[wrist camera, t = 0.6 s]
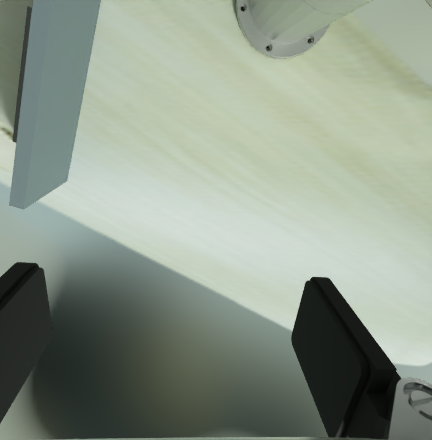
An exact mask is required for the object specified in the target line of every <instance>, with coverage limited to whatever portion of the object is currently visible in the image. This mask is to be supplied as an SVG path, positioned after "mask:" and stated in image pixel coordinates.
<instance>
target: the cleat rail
mask: <svg viewBox="0 0 432 440" xmlns="http://www.w3.org/2000/svg"><path fill="white" fill-rule="evenodd" d="M31 13H32V8H31V7H28V8H27V17H26V26H25V35H24V44H23V53H22V62H21V71H20V79H19V88H18V97H17V106H16V115H15V124H14V133H13V142H16V143H17V134H18V125H19V117H20V108H21V100H22V91H23V82H24V74H25V65H26V56H27V48H28V39H29V31H30V22H31Z"/></svg>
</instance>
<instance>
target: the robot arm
mask: <svg viewBox="0 0 432 440" xmlns="http://www.w3.org/2000/svg"><path fill="white" fill-rule="evenodd" d="M370 1H372V0H236V13H237V19H238V22H239V25H240V28H241V31H242V32H243V34H244V36H245V38H246V39H247V41H248V42H249V43H250V44H251V46H252V47H254V48H255V49H256V50H257V51H258V52H260V53H262V54H264V55H266V56H268V57H272V58H279V59H285V58H291V57H295V56H297V55H300V54H302V53H304V52H306V51H307V50H309V49H310V48H312V47H313V46H314V45H315V44H316V43H317V42H318V41H319V40H320V39H321V38H322V36H323V35H324V33H325V32H326V30H327V29H328V27H329V25H330V24H331V23H332V22H334V21H336V20H338V19H340V18H342V17H343V16H345V15H347V14H349V13H351V12H353V11H354V10H356V9H358V8H360V7H362V6H364V5H365V4H367V3H369V2H370ZM425 1H426V2H427V3H428V4H429V6H430V7H431V8H432V0H425ZM241 7H243V8H244V11H241ZM308 39H310V43H308ZM266 47H269V51H267V50H266ZM51 336H52V322H51V315H50V309H49V302H48V295H47V289H46V281H45V275H44V270H43V269H42V268H39V266H38V264H36V263H22V262H18V263H15V264H14V265H13V266H12V267H11V268H10V269H9V270H8V271H7V272H5V274H3V275H2V276H1V277H0V423H1V421H2V420H3V418H4V416H5V415H6V413H7V411H8V409H9V408H10V406H11V404H12V403H13V401H14V399H15V398H16V396H17V394H18V392H19V391H20V389H21V388H22V386H23V384H24V383H25V381H26V379H27V377H28V376H29V374H30V372H31V371H32V369H33V367H34V366H35V364H36V362H37V361H38V359H39V357H40V355H41V354H42V352H43V350H44V349H45V347H46V345H47V344H48V342H49V340H50V338H51ZM291 339H292V345H293V348H294V351H295V353H296V355H297V358H298V361H299V363H300V366H301V368H302V371H303V373H304V376H305V379H306V381H307V383H308V386H309V389H310V391H311V394H312V396H313V398H314V401H315V404H316V406H317V409H318V411H319V414H320V417H321V419H322V422H323V424H324V427H325V429H326V432H327V434H328V436H329V437H246V438H245V437H244V438H243V437H234V438H233V437H232V438H231V437H229V438H128V439H127V438H125V439H58V440H432V385H431V384H429V383H427V382H425V381H423V380H420V379H417V378H412V377H408V378H402V379H401V377H400V376H399V375H398V374H397V372H396V368H395V366H394V365H393V364H392V362H391V361H390V360H389V358H388V357H387V356H386V354H385V353H384V351H383V350H382V349H381V347H380V346H379V345H378V343H377V342H376V341H375V339H374V338H373V337H372V335H371V334H370V333H369V331H368V330H367V329H366V327H365V326H364V325H363V323H362V322H361V321H360V319H359V318H358V316H357V315H356V314H355V312H354V311H353V310H352V308H351V307H350V306H349V304H348V303H347V302H346V300H345V299H344V298H343V296H342V295H341V294H340V292H339V291H338V290H337V288H336V287H335V286H334V284H333V283H332V281H331V280H330V279H329V278H326V277H312V278H311V279H310V281H307V282H306V283H305V287H304V291H303V294H302V298H301V302H300V306H299V310H298V313H297V317H296V321H295V325H294V328H293V332H292V338H291Z"/></svg>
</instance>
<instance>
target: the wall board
mask: <svg viewBox="0 0 432 440" xmlns="http://www.w3.org/2000/svg"><path fill="white" fill-rule="evenodd" d="M100 1H101V0H33V5H32V13H31V22H30V31H29V39H28V48H27V56H26V65H25V74H24V82H23V91H22V100H21V108H20V117H19V125H18V134H17V143H16V151H15V160H14V168H13V177H12V186H11V195H10V203H9V205H10V206H14V207H18V208H21V209H25V208H27V207H28V206H30V205H31V204H33V203H34V202H36V201H37V200H39V199H40V198H42V197H43V196H45V195H46V194H48V193H49V192H51V191H52V190H54V189H55V188H57V187H59V186H60V185H62V184H63V183H65V182H66V181H67V178H68V173H69V167H70V162H71V157H72V151H73V146H74V141H75V135H76V130H77V125H78V119H79V114H80V108H81V103H82V98H83V92H84V87H85V82H86V76H87V71H88V66H89V60H90V55H91V50H92V44H93V39H94V34H95V28H96V23H97V17H98V12H99V7H100Z"/></svg>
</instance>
